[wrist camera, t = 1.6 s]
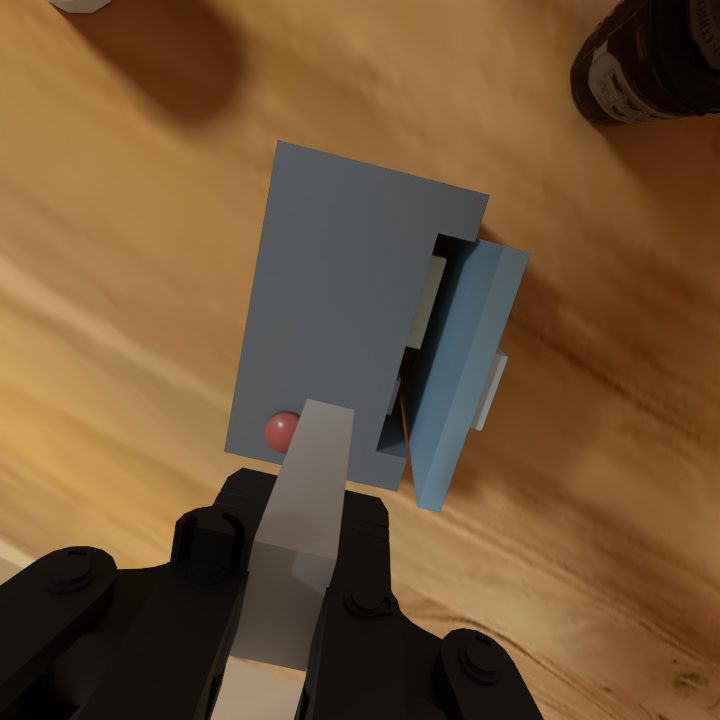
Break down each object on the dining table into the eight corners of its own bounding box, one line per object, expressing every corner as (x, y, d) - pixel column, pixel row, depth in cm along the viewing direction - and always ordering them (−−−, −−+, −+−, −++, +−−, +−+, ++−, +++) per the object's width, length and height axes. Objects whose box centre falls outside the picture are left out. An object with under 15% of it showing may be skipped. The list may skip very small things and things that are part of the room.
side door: (452, 231, 34) (503, 246, 20) (478, 238, 34) (548, 257, 20) (402, 399, 38) (417, 507, 24) (426, 405, 38) (454, 515, 24)
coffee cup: (645, 164, 32) (814, 137, 20) (532, 128, 32) (631, 77, 19) (709, 21, 30) (949, -114, 17) (586, -21, 29) (742, -191, 17)
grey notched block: (306, 160, 33) (274, 137, 23) (457, 199, 33) (493, 194, 23) (259, 405, 39) (216, 476, 28) (387, 436, 39) (392, 516, 29)
